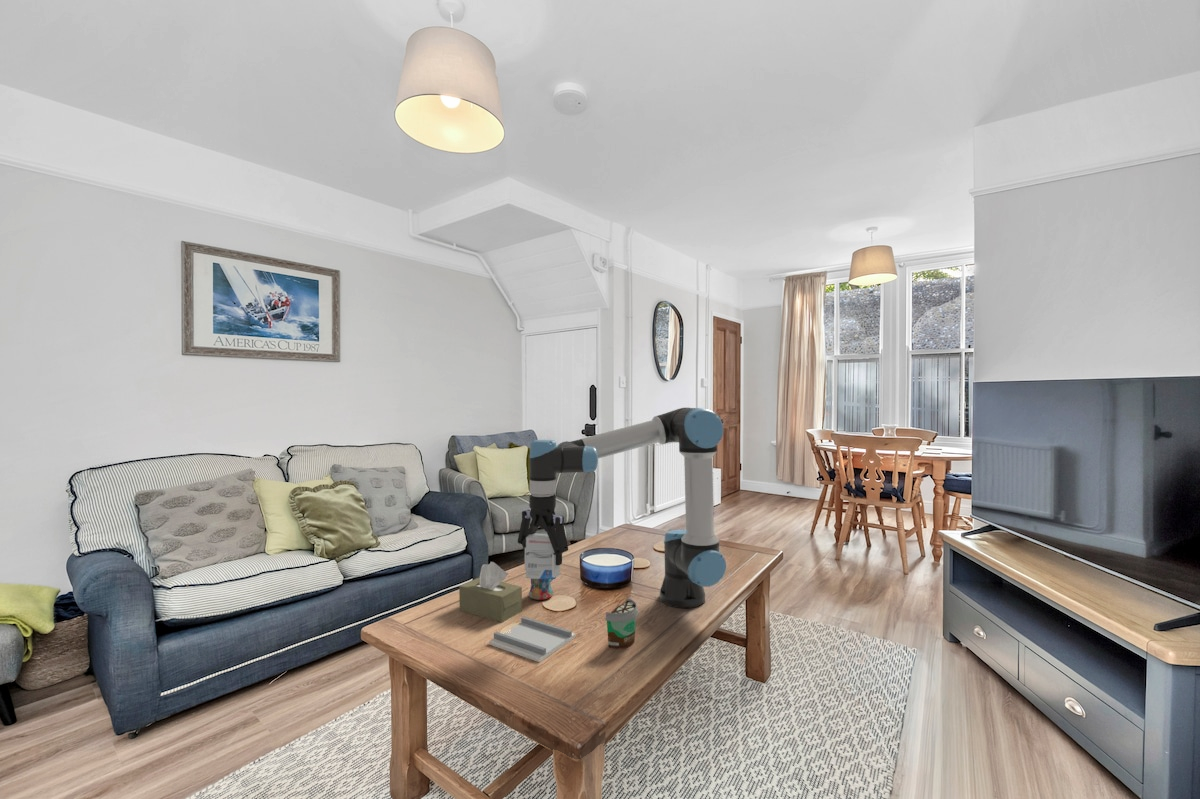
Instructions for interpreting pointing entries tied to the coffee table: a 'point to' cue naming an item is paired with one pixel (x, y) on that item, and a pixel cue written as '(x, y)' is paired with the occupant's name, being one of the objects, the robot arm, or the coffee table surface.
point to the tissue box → (491, 595)
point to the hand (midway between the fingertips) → (542, 572)
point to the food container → (622, 625)
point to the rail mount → (532, 639)
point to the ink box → (539, 556)
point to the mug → (540, 589)
